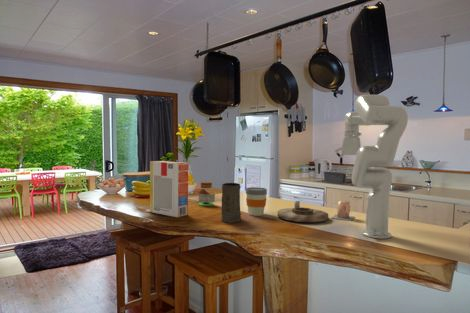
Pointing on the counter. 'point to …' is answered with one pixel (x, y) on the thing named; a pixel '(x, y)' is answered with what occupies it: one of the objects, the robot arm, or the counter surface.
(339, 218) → the mat
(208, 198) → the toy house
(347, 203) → the pink mug
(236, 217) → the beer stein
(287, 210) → the lazy susan
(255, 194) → the reusable coffee cup
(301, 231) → the counter surface
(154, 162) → the pasta box
